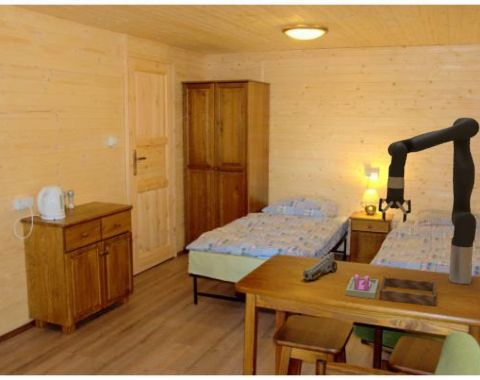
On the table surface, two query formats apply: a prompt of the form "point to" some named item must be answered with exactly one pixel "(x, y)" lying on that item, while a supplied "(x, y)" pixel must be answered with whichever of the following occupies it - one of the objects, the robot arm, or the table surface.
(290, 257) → the table surface
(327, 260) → the toy
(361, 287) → the bracket
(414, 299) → the crate
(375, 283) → the tray
